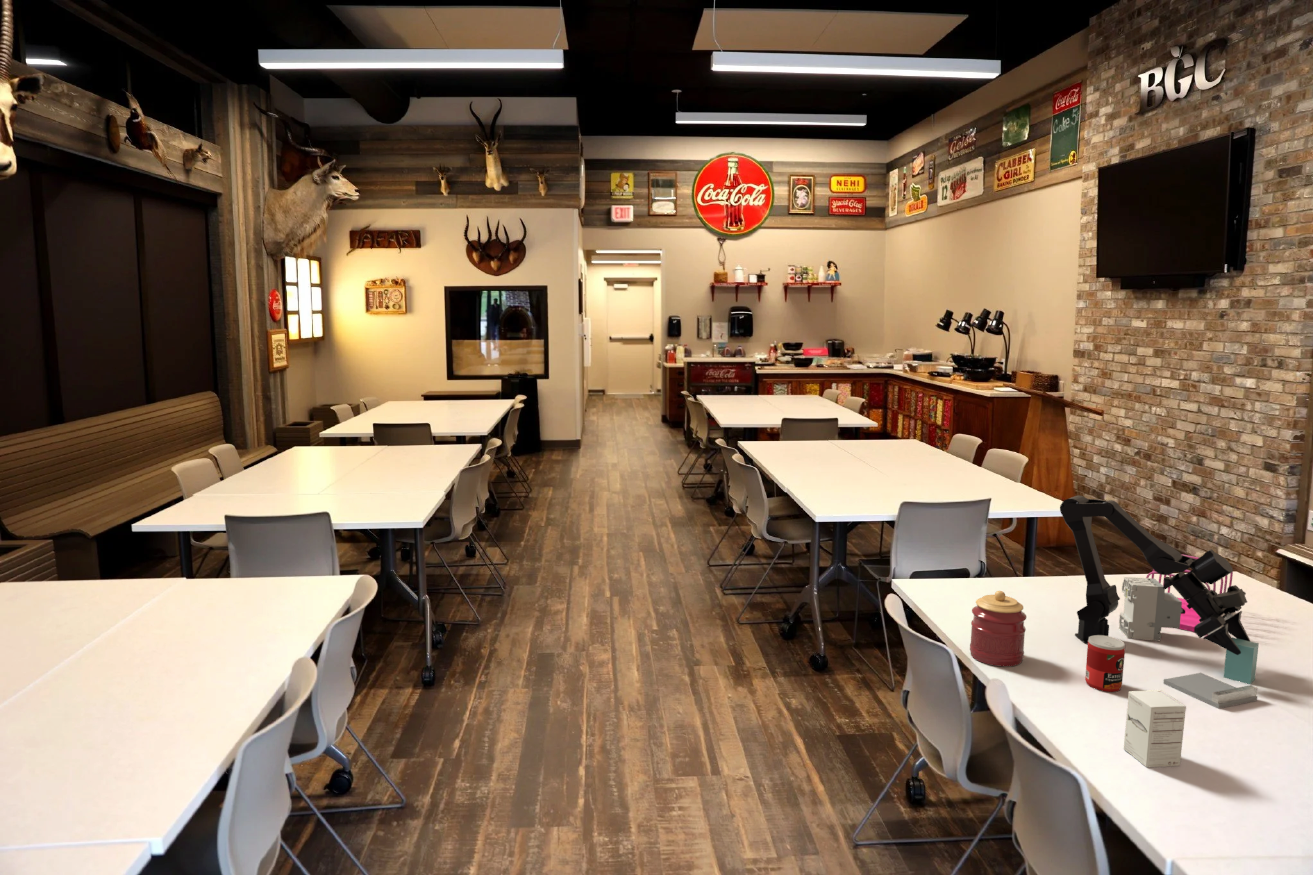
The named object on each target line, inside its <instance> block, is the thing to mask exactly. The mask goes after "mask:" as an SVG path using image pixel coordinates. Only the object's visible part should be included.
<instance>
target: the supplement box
mask: <svg viewBox="0 0 1313 875" xmlns="http://www.w3.org/2000/svg"><path fill="white" fill-rule="evenodd" d="M1127 696H1128V698H1127V708H1126V720H1125V729H1124V738H1123V739H1124V740H1123V750H1124V751H1126V752H1127V753H1129V754H1130V755H1131V756H1133V757H1134V758H1135V759H1136V760H1137V761H1138V762H1140V763H1141V764H1142V765H1143V766H1145V768H1162V767H1163V768H1166V767H1180V766H1181V760H1182V750H1183V749H1182V747H1183V740H1184V731H1185V730H1184V729H1185V719H1186V711H1187V706H1186V705H1185V704H1183V703H1181V702H1180V701H1179V700H1178V699H1177V700H1176V699H1175V698H1174V697H1172V696H1171V695H1169V694H1168V693H1166V692H1165V691H1163V690H1162V689H1153V690H1147V689H1146V690H1133V691H1132V690H1131V691H1128V695H1127Z"/></svg>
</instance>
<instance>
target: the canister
mask: <svg viewBox="0 0 1313 875" xmlns="http://www.w3.org/2000/svg"><path fill="white" fill-rule="evenodd" d="M1023 610H1024V605H1023V604H1022V603H1020V602H1019V601H1018V600H1017V599H1015V598H1013V597H1012V596H1011V597H1010V596H1007V595H1006V594H1005V592H1004V591H1002V590H997V591H996V592H995V593H994V594H986V595H984V596H983V595H982V597H979V598H977V599H976V600H975V606H974V607H972V609H971V613H972V614H973V619H972V620H971V622H970V623H971V630H970V634H971V635H970V643H969V651H970V656H971V657H972V658H973V659H974V660H976V661H978V662H981V663H983V664H986V665H991V666H994V667H995V666H996V667H1014V666H1015V667H1016V666H1019V665H1020V664H1022V663H1023V660H1024V657H1025V650H1024V648H1025V632H1026V631H1027V629H1026V627H1025V621H1026V620H1027V614H1026V613H1025V612H1024V611H1023Z"/></svg>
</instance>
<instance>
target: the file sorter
mask: <svg viewBox="0 0 1313 875" xmlns="http://www.w3.org/2000/svg"><path fill="white" fill-rule="evenodd" d="M1181 555H1184V556H1187V557H1190V558H1194V559H1198V558H1199V557H1197V556H1192V555H1187V554H1182V553H1181ZM1190 571H1191V570H1189V569H1187V570H1185V571H1184V572H1183V573H1188V572H1190ZM1233 573H1234V572H1232V573H1230V574H1229V584H1228V575H1227V576H1225V577H1223V578H1222V579H1220V585H1219V586H1220V588H1219V593H1218V594H1221V593H1224V592H1227V588H1228V587H1229V586H1233V585H1232V582H1233V575H1234V574H1233ZM1155 574H1156V575H1157V574H1158V573H1157V572H1156V571H1155V570H1154V569H1153V568H1152V571H1151V572H1149V573H1148V574H1146V577H1145V578H1150V576H1151V578H1152V579H1155ZM1158 575H1159V577H1158V582H1159V583H1160V584H1162V585H1163V586H1164V578H1165V577H1173V576H1174V575H1176V574H1174V573H1172V574H1170V575H1161V574H1158ZM1162 576H1163V581H1162ZM1161 582H1163V583H1161ZM1203 584H1204V585H1205V586H1206V588H1207V589H1208V590H1209V591H1210V590H1214V591H1215V592H1216V588H1217V587H1216V586H1217V582H1215V583H1213V584H1212V586H1213V587H1212V589H1211V586H1210V584H1208V583H1203ZM1227 586H1228V587H1227ZM1167 593H1171V586H1170V587H1168V588H1167ZM1177 598H1178V599H1179V600H1180V601H1181V602H1182V608H1183V609H1184V610H1185V614H1181V618H1180V628H1177V629H1178V630H1184V631H1189V632H1192V633H1195V632H1194V628H1195V626H1196V625H1197V624H1198V623H1200V621H1199V619H1200V617H1199V615H1198V614H1197V613H1196V612H1195V611H1194V610H1193V609H1192V608H1190V609H1189V608H1188V607H1187V605H1188V603H1187V602H1186V600H1185V599H1184V598H1183V597H1177ZM1207 635H1208V634H1207Z"/></svg>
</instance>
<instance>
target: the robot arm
mask: <svg viewBox="0 0 1313 875" xmlns="http://www.w3.org/2000/svg"><path fill="white" fill-rule="evenodd" d="M1059 512H1060V514H1061V516H1062V518H1063V520H1064V522H1065V524H1066V525H1067V527H1068V528H1069V529H1070V530H1071V531H1072V533H1073V537H1074V541H1075V545H1076V548H1077V552H1078V556H1079V558H1080V559H1079V560H1080V562H1081V568H1082V570H1083V573H1084V577H1085V582H1086V591H1085V600H1086V605H1085V606H1083V607H1082V608H1081V609H1079V610H1077V611H1076V614H1077V618H1078V628H1077V629H1078V630H1077V633H1074V636H1075V637H1076V638H1078V639H1079V640H1080V641H1081V642H1083V643H1084V644H1087V645H1088V639H1089V637H1090V636H1094V635H1103V636H1110V635H1109V633H1110V632H1109V631H1110V625H1109V622H1108V621H1109V619H1107V617H1109V616H1110V614H1111V613H1113V612H1114V611H1116V610H1117V608H1118V607H1119V601H1120V600H1121V597H1120V596H1119V595H1118V591H1117V586H1116V584H1113V585H1111V584H1110V583H1109V582H1108V581H1107V580H1106V577H1105V573H1104V570H1103V566H1102V563H1101V560H1100V555H1099V552H1098V549H1097V545H1096V542H1095V538H1094V534H1093V530H1092V523H1093V522H1092V520H1093V518H1094V517H1101V518H1102V517H1104V518H1106V520H1108V521H1109V522H1110V523H1111V524H1112V525H1113V526H1114V527H1115V528H1116V529H1117V530H1119V531H1120V533H1122V534H1123V535H1124V536H1125V537H1126V538H1127V539H1128V540H1129V541H1131V543H1133V544H1134V545H1135V546H1136V547H1137V548H1138V549H1139V550H1140V551H1141V553H1142V554H1143V557H1144V559H1145V560H1146V562H1147V563H1148V564H1149V565H1150V567H1151V568H1152V570H1153V569H1154V570H1155V571H1156V572H1157V573H1158V575H1160V574H1161V575H1162V576H1164V575H1166V577H1165V578H1164V577H1163V580H1164V586H1163V589H1165V590H1166V589H1167V590H1168V587H1170V588H1171V587H1173V588H1174V589H1175V590H1176V591H1177V592H1178V593H1179V595H1180V596H1181V598H1182V599H1185V600H1186V602H1187V603H1188V605H1187V607H1188V608H1189V609H1190V608H1192V609H1193V610H1194V611H1195V612H1196V613H1197V614H1198V615H1199V617H1200V619H1199V621H1200V623H1198V624H1197V625H1196V626H1195V628H1194V632H1193V633H1194V634H1196V635H1197V637H1198V638H1199V639H1203V640H1207V641H1208V642H1210V643H1213V644H1215V645H1217V646H1220V647H1221V648H1223V649H1225V650H1226V649H1227V650H1228V651H1230V652H1232V653H1234V654H1236V655H1239V654H1241V651H1240V649H1239V648H1238V646H1237V645H1236V643H1235V642H1234V640H1233V639H1232V636H1233V638H1237V639H1242V640H1246V641H1250V642H1252V641H1251V639H1250V637H1249V635H1248V634H1247V632H1246V630H1245V627H1244V626H1243V623H1242V621H1241V619H1242V618H1241V617H1242V614H1243V611H1242V610H1241V609H1242V607H1243V606H1245V604H1247V603H1248V600H1247V597H1246V594H1247V593H1246V591H1244V590H1243V588H1239V587H1238V586H1237V585H1231V586H1229V585H1228V587H1227V588H1226V592H1224V591H1223V592H1224V593H1223V592H1222V593H1221V594H1219V593H1217V592H1216V591H1214V590H1213V589H1211V590H1210V591H1209V590H1208V587H1207V586H1206V584H1204V583H1208V585H1213V583H1215V582H1216V583H1217V582H1218V581H1221V579H1222V578H1223V579H1224V578H1225V576H1227V577H1228V575H1230V573H1232V572H1233V571H1234V569H1233V566H1232V565H1231V564H1230V562H1229V561H1228V560H1227V559H1226V557H1223V556H1222V555H1220V554H1219V553H1217V552H1216V551H1214V550H1213V549H1212V548H1211V549H1209V550H1207V551H1206V552H1205V553H1203V554H1202V555H1201V556H1200V557H1198V559H1194V558H1190V557H1187V556H1184V555H1185V554H1182V553H1181V552H1180V551H1178V550H1177V549H1175V548H1174V547H1172V546H1171V545H1169V544H1168V543H1165V542H1164V541H1161V540H1159V539H1158V538H1156V537H1154V536H1153V535H1152V534H1151V533H1150V532H1149V531H1148V530H1147V529H1146V528H1144V527H1143V526H1142V525H1141V524H1140V523H1139V522H1138V521H1137V520H1136V519H1134V518H1133V516H1131V515H1130V514H1129V513H1128V512H1127V511H1126V510H1125V509H1123V508H1122V507H1121V505H1120V504H1119V503H1118V501H1115V500H1112V499H1110V500H1109V499H1108V500H1107V499H1106V500H1104V499H1095V498H1094V499H1093V498H1087V497H1085V496H1083V495H1075V496H1072V497H1070V498H1069V497H1068V498H1067V499H1064V500H1063V501H1062V503H1061V504H1060V505H1059ZM1181 554H1182V555H1181ZM1189 569H1191V570H1189ZM1185 570H1189V571H1190V572H1184V571H1185ZM1157 573H1156V574H1157ZM1174 573H1176V574H1175V575H1174V576H1172V577H1169V576H1168V575H1170V574H1174ZM1233 573H1234V572H1233ZM1207 634H1208V635H1207Z"/></svg>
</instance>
